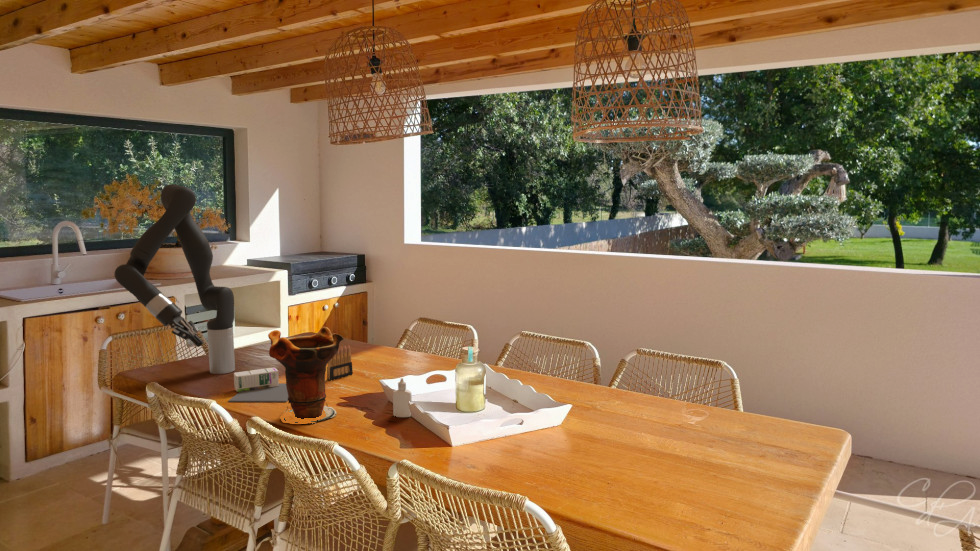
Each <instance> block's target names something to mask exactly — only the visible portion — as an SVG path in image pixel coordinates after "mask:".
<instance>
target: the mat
mask: <svg viewBox="0 0 980 551" xmlns="http://www.w3.org/2000/svg"><path fill="white" fill-rule="evenodd" d="M287 402H289V401H288V392H287V387H286V382H285V383H282V382H281V383H280V382H279V386H275V387H268V388H262V389H255V390H248V391H241V392H237V393H236V394H235V395H234V396H232V397H231V398H230V399H229V400H228V403H287Z"/></svg>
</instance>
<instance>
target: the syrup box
mask: <svg viewBox="0 0 980 551" xmlns="http://www.w3.org/2000/svg"><path fill="white" fill-rule="evenodd" d="M233 381H234V382H233V385H234V389H235V391H236V392H237V393H239V392H241V391H248V390H255V389H262V388H268V387H275V386H279V383H280V382H279V370H278V369H277V368H276V367H274V366H273V367H267V368H259V369H253V370H252V369H251V370H244V371H238V372H237V371H235V372H233Z"/></svg>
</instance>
